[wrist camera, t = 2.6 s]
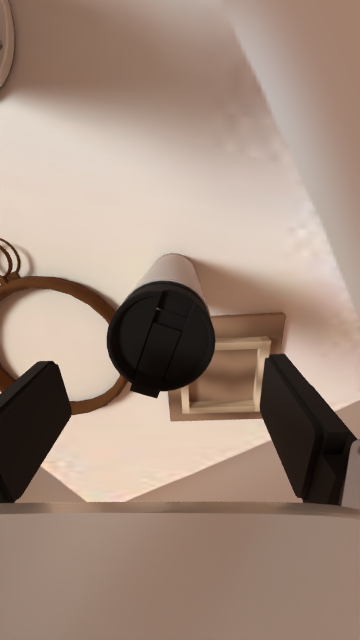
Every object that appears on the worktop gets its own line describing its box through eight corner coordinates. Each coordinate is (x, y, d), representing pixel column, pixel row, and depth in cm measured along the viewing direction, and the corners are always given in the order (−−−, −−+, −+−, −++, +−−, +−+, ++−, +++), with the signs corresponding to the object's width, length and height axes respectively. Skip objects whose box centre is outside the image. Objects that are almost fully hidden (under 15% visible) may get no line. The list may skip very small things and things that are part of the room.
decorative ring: (54, 199, 24) (155, 396, 35) (67, 202, 27) (157, 384, 38) (-109, 273, 28) (29, 432, 38) (-83, 270, 30) (39, 418, 41)
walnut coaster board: (162, 318, 32) (160, 324, 30) (282, 312, 32) (290, 319, 30) (170, 416, 40) (170, 428, 38) (268, 413, 40) (273, 425, 37)
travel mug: (145, 291, 31) (90, 382, 12) (159, 246, 28) (117, 275, 10) (185, 306, 32) (191, 411, 13) (202, 263, 29) (238, 318, 11)
